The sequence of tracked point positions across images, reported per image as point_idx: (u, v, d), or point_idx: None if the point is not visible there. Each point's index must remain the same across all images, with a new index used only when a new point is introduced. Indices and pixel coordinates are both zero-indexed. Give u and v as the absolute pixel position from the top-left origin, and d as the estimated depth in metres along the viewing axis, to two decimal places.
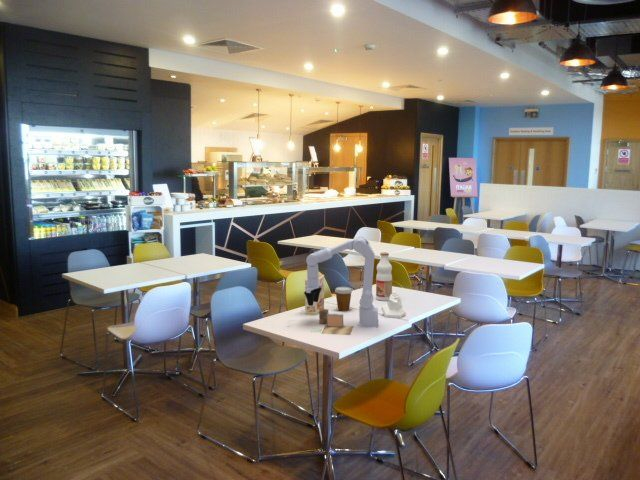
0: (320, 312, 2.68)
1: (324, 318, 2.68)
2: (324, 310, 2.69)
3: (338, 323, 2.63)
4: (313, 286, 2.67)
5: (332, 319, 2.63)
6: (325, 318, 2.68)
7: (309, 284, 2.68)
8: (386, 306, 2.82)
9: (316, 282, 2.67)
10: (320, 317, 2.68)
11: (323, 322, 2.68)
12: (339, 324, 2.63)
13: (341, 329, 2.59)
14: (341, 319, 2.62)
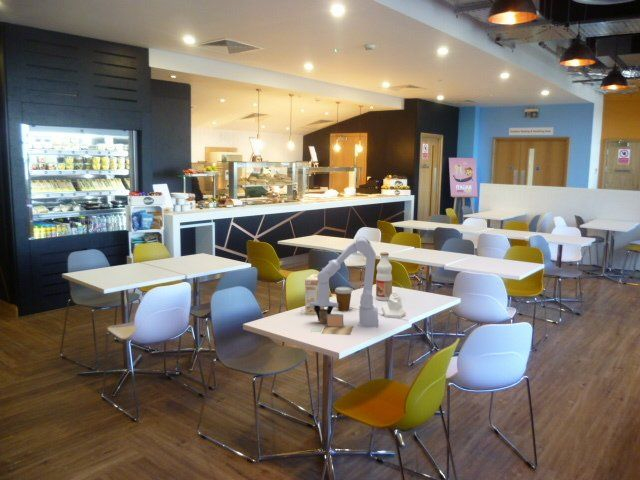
0: (320, 312, 2.68)
1: (324, 318, 2.68)
2: (324, 310, 2.69)
3: (338, 323, 2.63)
4: (318, 302, 2.68)
5: (332, 319, 2.63)
6: (325, 318, 2.68)
7: None
8: (386, 306, 2.82)
9: (320, 299, 2.66)
10: (320, 317, 2.68)
11: (323, 322, 2.68)
12: (339, 324, 2.63)
13: (341, 329, 2.59)
14: (341, 319, 2.62)
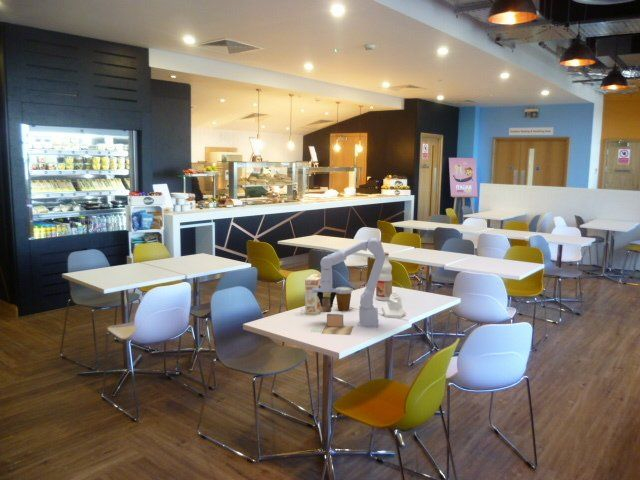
0: (323, 299, 2.66)
1: (328, 305, 2.67)
2: (327, 297, 2.68)
3: (338, 323, 2.63)
4: (321, 288, 2.67)
5: (332, 319, 2.63)
6: (328, 305, 2.66)
7: None
8: (386, 306, 2.82)
9: (323, 285, 2.65)
10: (323, 304, 2.67)
11: (326, 309, 2.67)
12: (339, 324, 2.63)
13: (341, 329, 2.59)
14: (341, 319, 2.62)
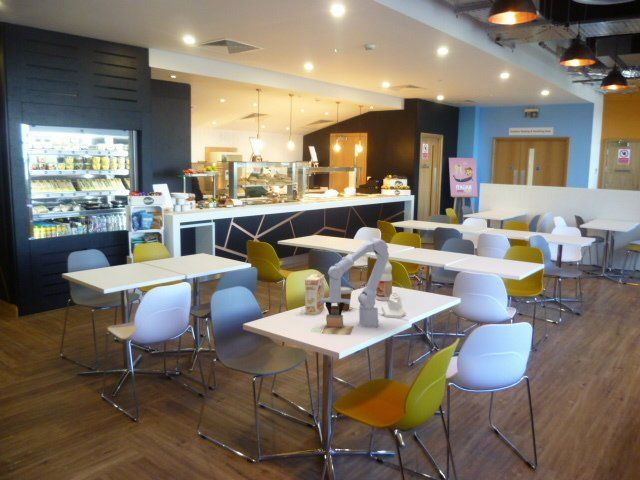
0: (331, 310, 2.62)
1: None
2: (335, 307, 2.63)
3: (338, 324, 2.62)
4: (329, 298, 2.62)
5: (332, 320, 2.62)
6: None
7: None
8: (386, 306, 2.82)
9: (331, 295, 2.60)
10: None
11: None
12: (338, 325, 2.62)
13: (341, 329, 2.59)
14: (341, 320, 2.61)
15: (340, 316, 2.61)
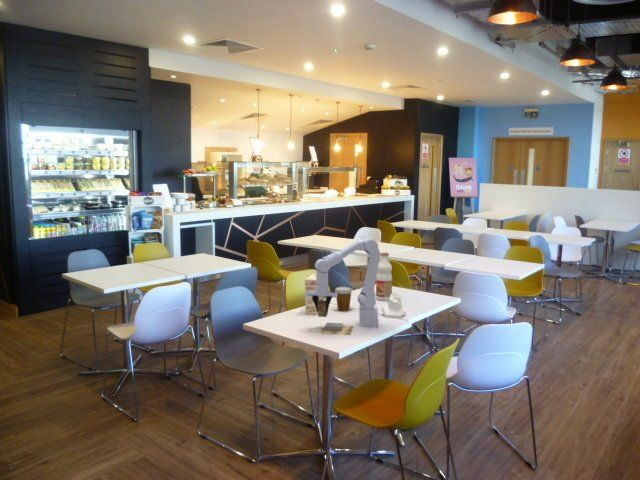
0: (318, 304, 2.58)
1: (323, 310, 2.59)
2: (323, 302, 2.59)
3: None
4: (316, 292, 2.58)
5: None
6: (324, 310, 2.59)
7: None
8: (386, 306, 2.82)
9: (318, 289, 2.56)
10: (319, 309, 2.59)
11: (322, 314, 2.60)
12: None
13: None
14: None
15: (339, 329, 2.57)
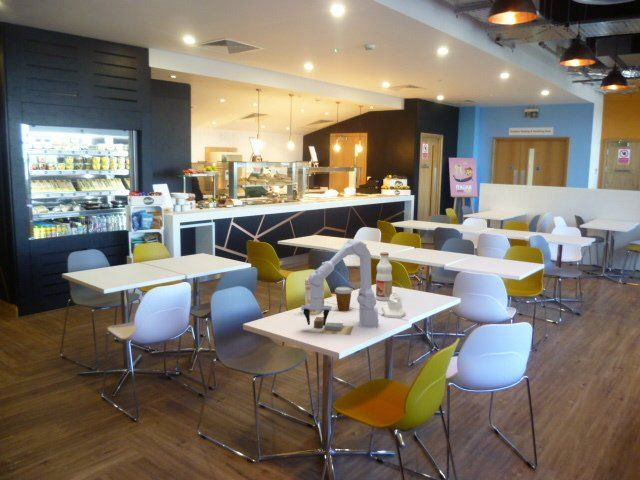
0: (317, 317, 2.68)
1: (320, 319, 2.65)
2: None
3: None
4: (310, 306, 2.56)
5: None
6: (321, 319, 2.65)
7: None
8: (386, 306, 2.82)
9: (312, 302, 2.54)
10: (316, 318, 2.66)
11: (318, 320, 2.63)
12: None
13: None
14: None
15: (339, 329, 2.57)
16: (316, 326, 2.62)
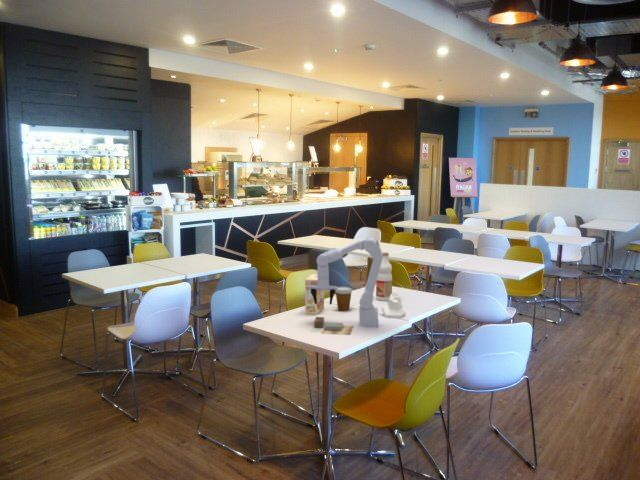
0: (317, 317, 2.68)
1: (320, 319, 2.65)
2: None
3: None
4: (317, 285, 2.68)
5: None
6: (321, 319, 2.65)
7: None
8: (386, 306, 2.82)
9: (319, 282, 2.67)
10: (316, 318, 2.66)
11: (318, 320, 2.63)
12: None
13: None
14: None
15: (339, 329, 2.57)
16: (316, 326, 2.62)
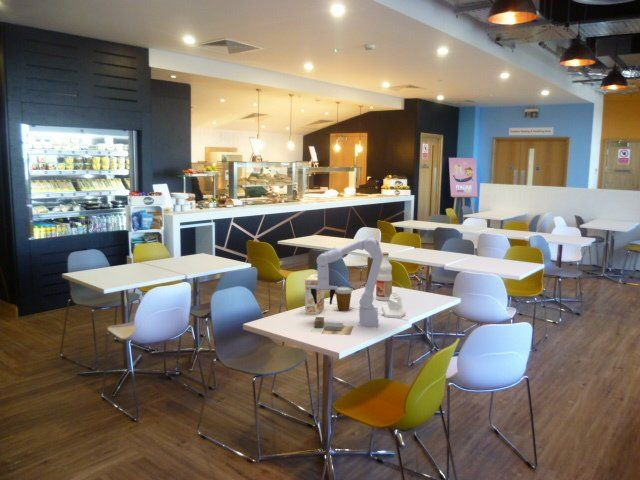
0: (317, 317, 2.68)
1: (320, 319, 2.65)
2: None
3: None
4: (317, 285, 2.68)
5: None
6: (321, 319, 2.65)
7: None
8: (386, 306, 2.82)
9: (319, 282, 2.67)
10: (316, 318, 2.65)
11: (318, 320, 2.63)
12: None
13: None
14: None
15: (339, 329, 2.57)
16: (316, 326, 2.62)
